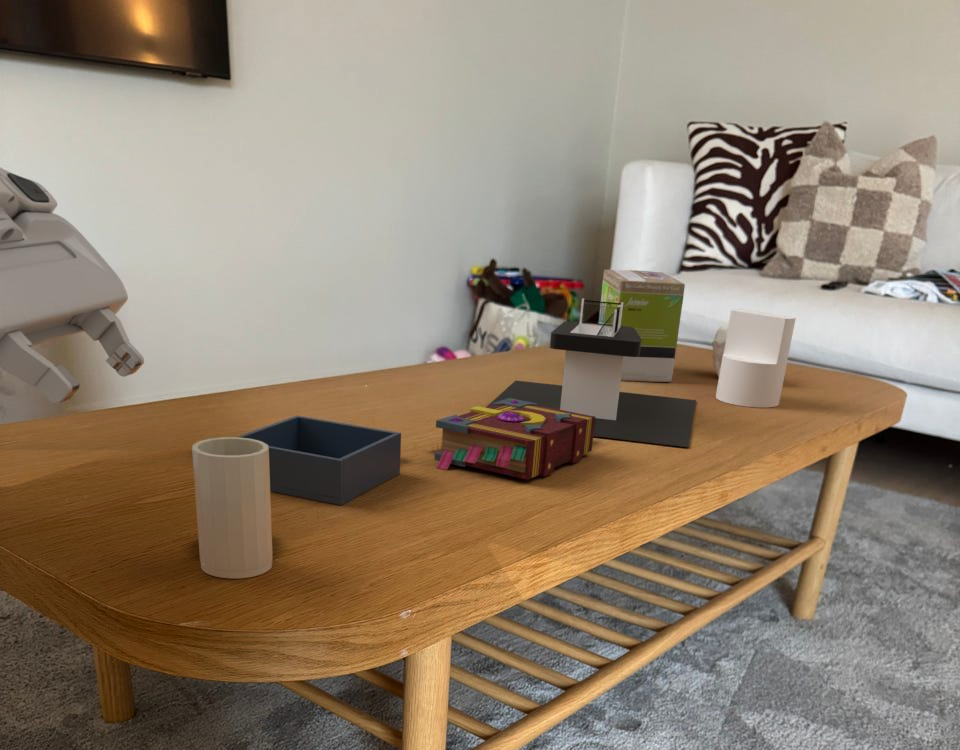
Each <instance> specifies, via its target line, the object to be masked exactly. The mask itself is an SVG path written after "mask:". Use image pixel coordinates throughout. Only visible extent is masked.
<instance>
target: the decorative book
mask: <svg viewBox="0 0 960 750" xmlns="http://www.w3.org/2000/svg"><path fill="white" fill-rule="evenodd" d="M594 425H595V416H590V415H584V414H579V413H574V412H569V411H564V410H559V409H553V408H548V407H543V406H538V404H536V403H531V402H526V401H521V400H517V399H512V398H508V399H505V400H502V401H499V402H495V403H492V406H489V407H487V406H485V407H484V406H479V405H478V406H477V405H476V406H474V407H470V408H469V412H465V413H463V414H460V415H458V414H457V413H456V414H453V415H450V416H447V417H443V418H439V419H436V420H435V428H437V429H441V430H442V434H441V435H442V436H441V437H442V438H441V450H440V451H438V452H434V461H436V462H437V464H436V466H435V468H437V469H441V470H443V471H444V470H445V471H447V470H448V469H449V467H450V465H455V466H459V467H462V468H466V466H467V467H471V468H476V469H480V470H483V471H488V472H492V473H496V474H501V475H506V476H510V477H514V478H517V479H522V480H527V481H528V480H530V479H533V478H535V477H538V476H539V477H543V478H545V477H547V476H549V475H551V474H553V473H554V472H555V468H557V467H559V466H561V465H563V464H566V463H570V464H575V463H578V462H579V461H581V460H582V459H583V456H584V455H586V454H588V453H590V452H592V451H593V450H592V449H593V442H594V436H593V434H594Z"/></svg>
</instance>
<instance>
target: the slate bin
mask: <svg viewBox="0 0 960 750" xmlns="http://www.w3.org/2000/svg"><path fill="white" fill-rule="evenodd" d="M236 437H240V438H249V439H254V440H258V441H262V442H264V443H265V444H267V445H268V447H269V470H270V493H276V494H280V495H281V494H282V495H286V496H291V497H297V498H301V499H306V500H313V501H317V502H322V503H326V504H332V505H336V506H343V505H344V504H346V503H348V502H350V501H352V500H354V499H355V498H357V497H359V496H361V495H363V494H365V493H366V492H368V491H370V490H372V489H374V488H376V487H378V486H380V485H382V484H383V483H385V482H387V481H389V480H390V479H392V478H394V477H397V476H398V475H400V474H401V455H402V454H401V453H402V452H401V451H402V450H401V449H402V433H401V432H397V431H392V430H386V429H380V428H375V427H368V426H362V425H356V424H351V423H344V422H338V421H332V420H326V419H320V418H316V417H315V418H314V417H309V416H303V415H294V416H292V417H288V418H286V419H283V420H280V421H277V422H275V423H271V424H269V425H266V426H262V427H260V428H257V429H254V430H252V431H248V432H245V433H243V434H240V435H237V436H236Z"/></svg>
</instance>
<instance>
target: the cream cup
mask: <svg viewBox="0 0 960 750" xmlns="http://www.w3.org/2000/svg"><path fill="white" fill-rule="evenodd" d="M191 446H192V447H191V451H192V466H193V467H192V468H193V480H194V495H195V509H196V522H197V524H196V525H197V537H198V538H197V540H198V551H199V562H200V568H201V570H202V571H203V573H205V574H207V575H209V576H213V577H216V578H219V579H220V578H221V579H230V580H231V579H233V580H234V579H235V580H238V579H239V580H240V579H248V578H253V577H254V578H255V577H257V576H261V575H263V574H266V573H268V572H269V571H270V570H271V569H272V568H273V565H274V564H273V534H272V533H273V531H272V529H273V528H272V503H271V502H272V500H271V499H272V498H271V491H270V470H269V447H268V445H267V444H265V443H264V442H262V441H258V440H254V439H249V438H240V437H237V436H235V437H234V436H232V437H231V436H224V437H223V436H222V437H213V438H206V439H202V440H199V441H197V442H195V443H193V444H192V445H191Z"/></svg>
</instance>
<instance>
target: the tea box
mask: <svg viewBox="0 0 960 750" xmlns="http://www.w3.org/2000/svg"><path fill="white" fill-rule="evenodd" d="M685 285H686V283H684V282H682V281H680V280H678V279H676V278H674V277H671V276H670V275H668V274H666V273H664V272H661V271H650V270H637V269H636V270H633V269H604V270H603V276H602V285H601V294H600V295H601V297H600V301H601V302H612V303H621V302H623V309H622V318H621V326H628V327H633V328H634V329H635V330H636V332H637V333H638V334H639V336H640V337H641V339H642V342H641V349H640V355H639V357H627V356H624V359H623V367H622V375H621V381H626V382H628V381H629V382H651V383H671V382H672V379H673V375H674V368H675V362H676V361H675V359H676V352H677V347H678V338H679V331H680V324H681V317H682V311H683V310H682V309H683V303H684V295H685V287H686V286H685ZM619 305H621V304H619ZM619 305H618V304H617V305H615V304H614V307H616V306H617V307H619ZM605 306H606V307H605V310H604V311H603V308H604V303H602V306H601V303H599V308H600V307H602V310H600V309H599V311H600V314H599V315H598V317H599V316H601V319H599V318H598V320H599V321H601V320H602V317H603V316H604V319H603V320H602V321H605V322H606V321H607V320H608V317H611V316H610V313H612V314H613V313H614V312H615V310H616V309H617V308H614V307H613V304H611V307H612V308H611V307H610V304H609V303H608V307H607V303H605ZM606 308H608V311H606ZM610 308H611V311H610V312H609V309H610ZM612 309H614V312H612ZM602 311H603V314H602V315H601V312H602ZM604 312H606V315H604ZM608 312H609V315H608V316H607V313H608ZM606 316H607V319H606V320H605V317H606ZM612 317H613V316H612ZM610 319H611V318H610ZM613 319H614V318H613ZM599 321H598V324H602V322H600V323H599ZM605 322H603V324H605ZM608 322H609V323H610V321H609V320H608ZM612 322H613V320H612ZM606 324H608V323H606ZM610 325H611V323H610Z"/></svg>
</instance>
